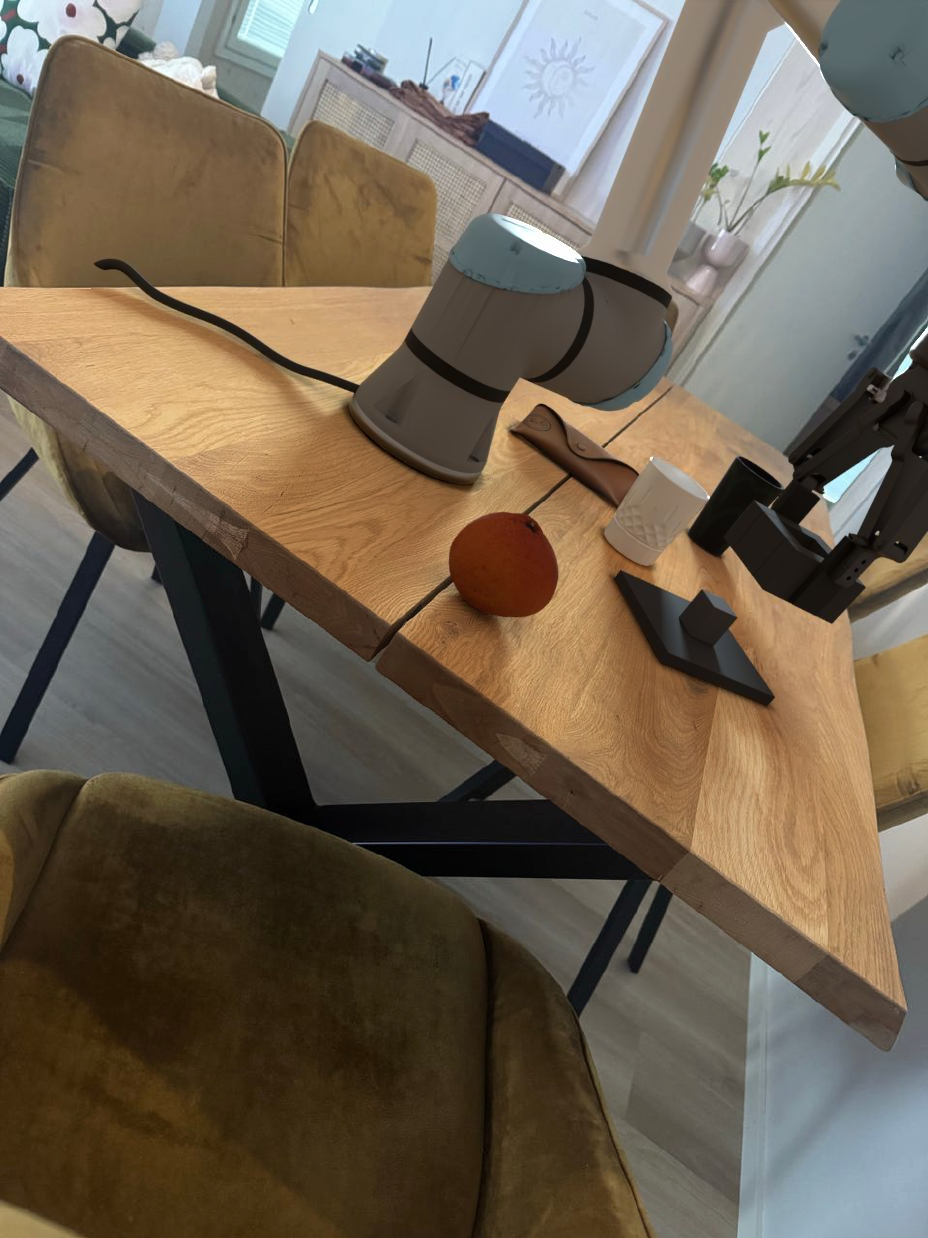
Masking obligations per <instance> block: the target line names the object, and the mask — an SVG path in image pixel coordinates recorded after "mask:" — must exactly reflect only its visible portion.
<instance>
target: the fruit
mask: <svg viewBox="0 0 928 1238" xmlns="http://www.w3.org/2000/svg"><path fill="white" fill-rule="evenodd" d="M448 570H449V571H448V572H449V575H450V578H451V581H452V584H453V586H454V587H455V589H456V591H457V592H458V593H459V594H460V596H461V597H462V599H463V600H464V601H466V602H467V603H468V604H469V605H470V606H472V607H473V608H475V609H477V610H478V611H480V612H482V613H485V614H487V615H491V616H497V617H502V618H526V617H530V616H532V615H536V614H538V613H539V612H541V611H542V610H544V609H545V608H546V607H547V606H548V605H549V604H550V602H551V600H552V598H553V597H554V595H555V592H556V591H557V590H556V589H557V586H558V582H559V575H560V574H559V573H560V572H559V563H558V560H557V556H556V553H555V550H554V548H553V546H552V544H551V542H550V540H549V539H548V538H547V536H546V535H545V533H544V531H543V529H542V527H541V526H540V524H539V522H537V521H536V519H534V518H533V517H531V516H530V515H529V514H527V513H522V512H517V513H516V512H510V511H495V512H489V513H487V514H484V515H481V516H479V517H477V518H475V519H473V520H472V521H471V522H469V523H467V524H466V525H465V526H464V527H463V528H462V529H461V530H460V531H459V532H458V533H457V535H456V536H455V537H454V539H453V540H452V542H451V544H450V547H449V552H448Z"/></svg>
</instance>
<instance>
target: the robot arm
mask: <svg viewBox="0 0 928 1238" xmlns="http://www.w3.org/2000/svg"><path fill="white" fill-rule="evenodd" d="M783 25H786V26H787V28H789V30H790V31H791V32H792V34H793V35H794V36H795V38H796V39H797V40H798V41H799V42H800V44H801V46H802V47H803V48H804V49H805V50H806V52H807V53H808V54H809V56H810V58H812V59H813V61H814V62H815V63H816V64H817V66H818V68H819V71H820V74H821V76H822V79H823V81H824V82H825V83H826V84H827V86H828V87H829V89H830V91H831V93H832V95H833V96H834V98H835V99H836V100H837V101H838V102H839V103H840V104H841V106H843V108H844V109H845V110H846V111H847V112H848V113H849V114H850V115H851V116H853V117H856V118H857V119H858V120H859V121H860V122H861V123H862V124H863V125H864V126H865V127H866V128H867V129H868V130H869V131H870V132H871V133H872V134H873V135H874V136H875V137H876V138H877V139H878V140H879V141H880V142H881V143H882V144H883V145H884V146H885V147H886V148H887V149H888V150H889V152H890V153H891V154H892V155H893V158H894V162H895V165H894V173H895V175H896V177H897V179H898V180H899V182H900V183H901V184H902V185H904V186H905V187H906V188H908V189H910V190H911V191H913V192H914V193H916V194H918V195H919V196H920V197H921V198H922V200H923V201H925V202H927V203H928V0H685V1H684V3H683V6H682V7H681V10H680V13H679V16H678V18H677V21H676V24H675V25H674V28H673V31H672V33H671V36H670V38H669V41H668V43H667V46H666V48H665V51H664V53H663V56H662V59H661V61H660V64H659V66H658V69H657V70H656V71H657V72H656V74H655V76H654V78H653V81H652V84H651V87H650V89H649V91H648V94H647V96H646V98H645V102H644V104H643V107H642V109H641V111H640V114H639V117H638V119H637V122H636V124H635V126H634V129H633V132H632V135H631V137H630V139H629V142H628V144H627V146H626V150H625V152H624V153H623V157H622V159H621V163H620V165H619V167H618V169H617V172H616V174H615V177H614V179H613V182H612V185H611V188H610V190H609V192H608V195H607V197H606V200H605V202H604V204H603V208H602V210H601V212H600V215H599V218H598V220H597V222H596V225H595V228H594V230H593V233H592V235H591V238H590V240H589V242H588V243H586V244H585V245H583V246H582V247H581V246H580V247H579V248H577V249H575V250H574V249H573V248H571V247H570V246H568V245H567V244H565V243H564V242H562V241H560V240H558V239H557V238H555V237H553V236H551V235H549V234H547V233H543V232H542V230H540V229H538V228H537V227H534V226H532V225H530V224H527V223H526V222H524V221H520V220H518V219H515V218H513V217H510V216H506V215H503V214H500V213H493V212H486V213H482V214H479V215H476V217H474V218H472V220H471V221H470V222H469V223H468V225H467V226H466V228H465V229H464V231H463V232H462V234H461V235H460V236H459V238H458V240H457V241H456V243H455V244H454V245H453V246H452V247H451V248H450V251H449V252H448V258H447V260H446V262H445V264H444V265H443V268H442V269H441V271H440V273H439V274H438V277H437V279H436V280H435V282H434V284H433V285H432V288H431V290H430V291H429V293H428V295H427V297H426V298H425V300H424V303H423V305H422V306H421V307H420V310H419V312H418V313H417V315H416V317H415V319H414V320H413V323H412V325H411V327H410V329H409V330H408V332H407V334H406V336H405V337H404V339H403V341H402V342H401V344H400V346H399V347H398V348H397V349H396V350H395V351H394V352H393V353H392V354H390V355H389V356H388V358H386V359H385V360H384V361H383V362H382V363H381V364H380V365H379V366H377V368H376V369H374V371H372V372H371V373H370V374H369V375H368V376H367V377H366V378H365V379H363V381H361V383H360V384H359V383H356V382H354V381H350V380H348V379H345V378H342V377H340V376H337V375H334V374H331V373H328V372H326V371H322V370H319V369H316V368H312V367H310V366H306V365H303V364H301V363H298V362H296V361H293V360H292V359H290V358H288V357H286V356H285V355H282V354H281V353H279V352H277V351H276V350H275V349H273V348H272V347H270V346H269V345H268V344H266V343H264V342H263V341H262V340H261V339H260V338H258V337H256V336H254V335H253V334H252V333H250V332H248V331H247V330H245V328H242V327H240V326H239V325H237V324H235V323H233V322H231V321H230V320H228V319H225V318H223V317H221V316H219V315H216V314H215V313H212V312H210V311H207V310H205V309H202V308H199V307H197V306H194V305H192V304H188V303H186V302H184V301H181V300H179V299H176V298H175V297H172V296H170V295H168V294H166V293H165V292H163V291H161V290H160V289H158V288H156V287H155V286H154V285H152V284H151V283H150V282H149V281H147V280H146V279H145V277H144V276H143V275H142V274H141V273H140V272H139V271H137V270H136V269H135V268H134V267H133V266H132V265H131V264H129V263H128V262H126V261H123V260H121V259H118V258H104V259H100V260H97V261H95V262H93V265H94V266H95V267H96V268H98V269H100V270H103V271H111V270H114V271H119V272H121V273H123V274H124V275H125V276H126V277H128V278H129V280H131V281H132V283H134V284H135V285H136V286H137V287H138V288H139V289H140V290H141V291H142V292H143V293H144V294H146V295H147V296H148V297H149V298H151V299H152V300H154V301H156V302H158V303H159V304H162V305H164V306H165V307H167V308H170V309H172V310H175V311H177V312H179V313H181V314H183V315H187V316H189V317H192V318H195V319H197V320H200V321H203V322H205V323H208V324H210V325H213V326H215V327H217V328H219V329H221V330H223V331H225V332H226V333H229V334H231V335H233V336H235V337H236V338H238V339H240V340H241V341H242V342H244V343H246V344H248V345H249V346H250V347H252V348H253V349H255V350H256V351H257V352H259V353H260V354H262V355H263V356H264V357H266V358H267V359H269V360H271V362H274V363H275V364H277V365H279V366H280V367H282V368H284V369H286V370H287V371H290V372H292V373H294V374H297V375H300V376H303V377H306V378H310V379H312V380H316V381H320V382H322V383H325V384H328V385H330V386H333V387H337V388H339V389H342V390H344V391H347V392H350V393H352V396H351V398H350V400H349V402H348V410H349V413H350V416H351V417H352V418H353V420H354V422H355V423H356V424H357V426H358V427H359V428H360V429H361V430H362V431H363V432H364V433H365V435H367V436H368V438H370V439H371V440H372V441H374V443H376V444H377V445H378V446H379V447H380V448H382V449H383V450H385V451H386V452H388V453H389V454H391V455H392V456H394V457H395V458H397V459H398V460H400V461H401V462H403V463H404V464H406V465H408V466H410V467H412V468H414V469H415V470H417V471H419V472H421V473H424V474H426V475H428V476H430V477H433V478H436V479H437V480H441V481H443V482H448V483H452V484H457V485H470V484H473V483H475V482H476V481H477V480H478V479H479V478H480V476H481V474H482V472H483V471H484V469H485V466H486V465H487V462H488V459H489V455H490V451H491V447H492V443H493V439H494V436H495V431H496V428H497V423H498V419H499V416H500V411H501V409H502V407H503V405H505V402H506V400H507V398H508V397H509V395H510V394H511V393H512V391H513V389H514V388H515V386H516V384H517V383H518V381H520V380H519V379H522V380H524V381H527V382H529V383H531V384H533V385H535V386H537V387H540V388H542V389H545V390H547V391H550V392H552V393H554V394H556V395H559V396H561V397H563V398H566V399H567V400H568V401H570V402H571V403H573V404H576V405H579V406H581V407H589V408H591V409H594V410H597V411H601V412H617V411H621V410H625V409H627V408H629V407H630V406H631V405H633V404H635V403H638V402H641V401H642V400H643V399H644V398H646V397H647V396H648V395H649V394H651V392H652V391H653V390H654V389H655V388H656V387H657V385H658V384H659V383H660V382H661V380H662V379H663V377H664V376H665V374H666V372H667V370H668V368H669V365H670V362H671V360H672V355H673V351H674V341H673V340H672V339H671V337H672V334H673V333H672V330H671V327H670V326H669V323H667V321H666V319H665V316H666V314H667V312H668V310H669V307H670V304H671V302H672V299H673V297H674V292H673V289H672V286H671V283H670V281H669V278H668V271H669V269H670V266H671V264H672V262H673V259H674V257H675V254H676V252H677V251H678V250H677V249H678V247H679V245H680V242H681V241H682V238H683V236H684V233H685V231H686V229H687V226H688V223H689V221H690V219H691V217H692V214H693V211H694V210H695V207H696V204H697V202H698V200H699V197H700V195H701V193H702V191H703V188H704V185H705V183H706V181H707V178H708V175H709V174H710V170H711V168H712V166H713V163H714V161H715V159H716V156H717V154H718V152H719V149H720V147H721V145H722V142H723V140H724V139H725V135H726V133H727V130H728V128H729V125H730V124H731V121H732V118H733V117H734V114H735V112H736V109H737V107H738V104H739V102H740V100H741V98H742V95H743V92H744V91H745V87H746V85H747V82H748V81H749V78H750V76H751V73H752V71H753V68H754V67H755V64H756V61H757V59H758V57H759V54H760V53H761V50H762V47H763V45H764V43H765V40H766V37H767V35H768V33H770V32H771V31H773V30H775V29H777V28H779V27H782V26H783ZM908 357H909V358H910V360H911V363H910V365H909V366H908V367H907V368H906V369H905V370H904V371H901V372H900V373H899V374H897V375H896V376H895V377H893V376H890V375H888V374H887V373H886V372H884V371H882V370H881V369H879V368H878V367H877V366H872V367H870V368H869V369H868V370H867V371H866V372H865V374H864V375H863V376H862V378H861V379H860V381H859V382H858V384H857V385H856V387H855V388H854V390H853V391H852V392H851V393H850V394H849V395H848V396H847V397H846V398H845V399H844V400H843V401H842V402H841V403H840V404H839V405H838V406H837V407H836V408H835V409H834V410H833V411H832V412H831V413H829V415H828V416H827V417H826V418H825V419H824V420H823V421H821V423H820V424H819V425H818V426H816V428H814V429H813V431H811V433H810V434H809V435H808V436H807V437H806V438H805V439H803V441H802V442H801V443H800V444H799V445H797V447H796V448H795V449H794V450H792V451H791V452H790V454H789V456H788V458H787V461H788V463H789V464H790V465H792V468H793V472H792V479H791V480H790V482H789V483H788V484H787V486H786V487H784V490H783V492H782V493H781V494H780V495H779V496H778V497H777V498H776V500H775V501H774V502H773V503H772V504H771V505H770V507H769V509H771V510H773V511H775V512H777V513H779V514H780V515H782V516H784V517H786V518H788V519H789V520H791V521H793V522H795V523H797V524H799V525H801V523H802V521H804V519H805V518H806V517H807V516H808V515H809V513H810V512H811V511H812V510H813V508H815V506H817V504H818V503H819V502H820V500H821V497H819V495H825V494H826V491H825V487H826V486H827V485H829V484H830V483H831V482H833V481H834V480H836V479H837V478H839V477H840V476H842V475H843V474H845V473H847V471H850V470H851V469H852V468H854V467H856V465H858V464H860V463H862V462H863V461H864V460H865V459H867V458H868V457H870V456H872V455H873V454H875V453H876V452H878V451H879V450H881V449H888V448H891V447H892V449H891V451H890V457H891V462H890V464H889V467H888V469H887V471H886V472H885V474H884V477H883V479H882V481H881V483H880V485H879V487H878V490H877V491H876V494H875V496H874V498H873V500H872V502H871V504H870V506H869V508H868V510H867V512H866V514H865V517H864V519H863V520H862V522H861V525H860V526H859V529H858V531H857V533H851V532H848V535H844V536H843V537H842V538H840V540H839V541H838V543H837V544H836V545H834V547H833V548H831V549H832V551H831V552H830V553H829V554H828V555H827V556H826V557H825V558H824V560H823V561H822V562H821V563H820V565H819V566H818V567H817V568H816V569H815V570H814V571H813V572H812V574H811V575H810V576H809V577H808V578H807V579H806V580H805V581H804V583H803V584H802V585H801V586H800V587H799V588H798V589H797V590H796V592H795V593H794V594H793V595H792V596H791V597H790V598H789V599H788V600H789V601H790V603H791V605H792V606H794V607H796V608H798V609H800V610H802V611H804V612H806V613H808V614H810V615H812V616H814V617H817V615H818V614H819V613H820V611H821V610H822V609H823V608H824V607H825V606H826V605H827V604H828V603H829V602H830V601H831V600H832V598H833V597H834V596H835V595H836V594H837V593H838V592H839V591H840V590H841V589H842V588H843V587H844V588H848V587H849V586H851V585H852V584H853V583H854V582H855V581H856V580H857V579H859V578H861V576H862V575H863V573H864V572H866V570H867V569H869V567H870V566H871V565H872V564H873V563H874V562H875V561H876V560H878V559H881V558H882V559H883V558H884V559H887V560H890V561H894V562H895V563H897V564H903V563H905V562H906V561H907V560H908V559H909V558H910V556H911V555H912V553H913V552H914V551H915V550H916V548H917V547H918V545H919V544H920V543H921V541H922V540H923V539H924V537H925V536H926V534H927V533H928V327H927V328H926V329H925V331H923V333H922V334H921V335H920V337H919V338H918V339H917V340H916V341H915V342H914V344H913V345H912V346H911V347H910V348H909V351H908ZM809 455H810V456H811V457H809ZM815 492H816V493H815ZM818 494H819V495H818ZM877 533H878V534H877ZM790 603H789V604H790Z"/></svg>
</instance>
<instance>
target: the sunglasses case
mask: <svg viewBox="0 0 928 1238" xmlns="http://www.w3.org/2000/svg"><path fill="white" fill-rule="evenodd" d="M509 429H510V430H511V432H513V433H515V434H516V435H518V436H519V437H520V438H521V439H524V440H525V441H526V442H527V443H529V444H531V445H532V446H533V447H534V448H536V450H538V451H539V452H541V453H542V455H544V456H545V457H547V458H548V459H550V460H551V461H553V462H554V463H555V464H557V465H558V466H559V467H560V468H561V469H563V470H564V471H566V472H567V473H569V475H570V476H572V477H574V479H576V480H577V481H578V482H579V483H581V484H582V485H583V486H585V487H586V488H588V489H590V490H591V491H593V492H594V493H596V494H597V495H599V496H601V497H603V498H604V499H606V500H608V501H609V502H611V503H613V504H614V505H616V507H619V506H620V504H621V502H622V501H623V499H624V498H625V496H626V495H627V493H628V491H629V490H630V488H631V487H632V485H633V484H634V482H635V481H636V479H637V478H638V476H639V475H640V473H639V472H638V471H637V470H636V469H635V468H634V467H632V466H631V465H630V464H629V463H627V462H625V461H622V460H620V459H618V458H617V457H616V456H615V455H613V454H612V453H611V452H609V451H608V450H607V449H605V448H604V447H602V446H601V445H600V444H598V443H597V442H596V441H594V440H593V439H592V438H590V437H589V436H588V435H586V434H585V433H583V432H582V431H581V430H579V429H578V428H576V427H575V426H574V425H572V424H571V423H569V421H566V420H565V419H564V418H563V417H562V416H561V415H560V414H559V413H558V412H557V411H555V409H553V408H552V407H551V406H549V405H547V404H545V403H538V404H536V405H535V406H534V407H533V408H532V409H531V410H530V412H529V413H528V414H527V415H526V416H525V417H524V418H523V419H522V421H521V422H519V423H518V424H517V425H514V426H513V427H509Z"/></svg>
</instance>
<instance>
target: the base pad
mask: <svg viewBox="0 0 928 1238" xmlns="http://www.w3.org/2000/svg"><path fill="white" fill-rule="evenodd" d="M613 580H614V582H615V583H616V585H617V587H618V589H619V590H620V592H621V594H622V596H623V598H624V599H625V601H626V603H627V605H628V607H629V608H630V610H631V612H632V614H633V616H634V617H635V619H636V621H637V623H638V624H639V626H640V628H641V630H642V632H643V634H644V635H645V637H646V639H647V640H648V642H649V644H650V646H651V648H652V649H653V651H654V653H655V655H656V656H657V659H658V660H659V663H661V664H664V665H666V666H669V667H671V668H674V669H676V670H679V671H681V672H684V673H685V674H688V675H691V676H693V677H696V678H698V679H701V680H703V681H706V682H708V683H710V684H713V685H716V686H718V687H720V688H723V689H725V690H727V691H731V692H733V693H736V694H738V695H740V696H743V697H745V698H748V699H750V700H753V701H754V702H757V703H760V704H762V705H765V706H769V705H770V704H771V703H772V702H773V701H774V700H775V699H776V696H775V694H774V693H773V691H772V690H771V688H770V687H769V685H768V684H767V683H766V681H765V680H764V678H763V677H762V675H761V674H760V672H759V671H758V669H757V668H756V666H755V665H754V663H753V662H752V660H751V659H750V658H749V656H748V655H747V653H746V652H745V650H744V649H743V648H742V645H740V643H739V641H738V640H737V639H736V637H735V635H734V634H733V633H732V631H731V630H730V628H731V626H733V624H734V623H735V622H736V621H737V619H738V618H739V617H738V616H737V614H736V613H735V611H734V610H733V609H732V607H731V606H730V605H729V603H728V602H727V600H726V598H723V597H721V596H718V595H716V594H715V593H711V592H709V590H705V589H703V588H701V589H700V590H699V591H698V592H697V594H696V595H695V596H694V598H693V599H692V600H689V599H686V598H684V597H682V596H680V595H677V594H675V593H673V592H671V591H670V590H666V589H664V588H662V587H660V586H658V585H655V584H654V583H651V582H648V581H646V580H644V579H642V578H640V577H638V576H635V575H633V574H631V573H629V572H626V571H624V570H622V569H619V570H618V572H617V573H616V574H615V576H613Z"/></svg>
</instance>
